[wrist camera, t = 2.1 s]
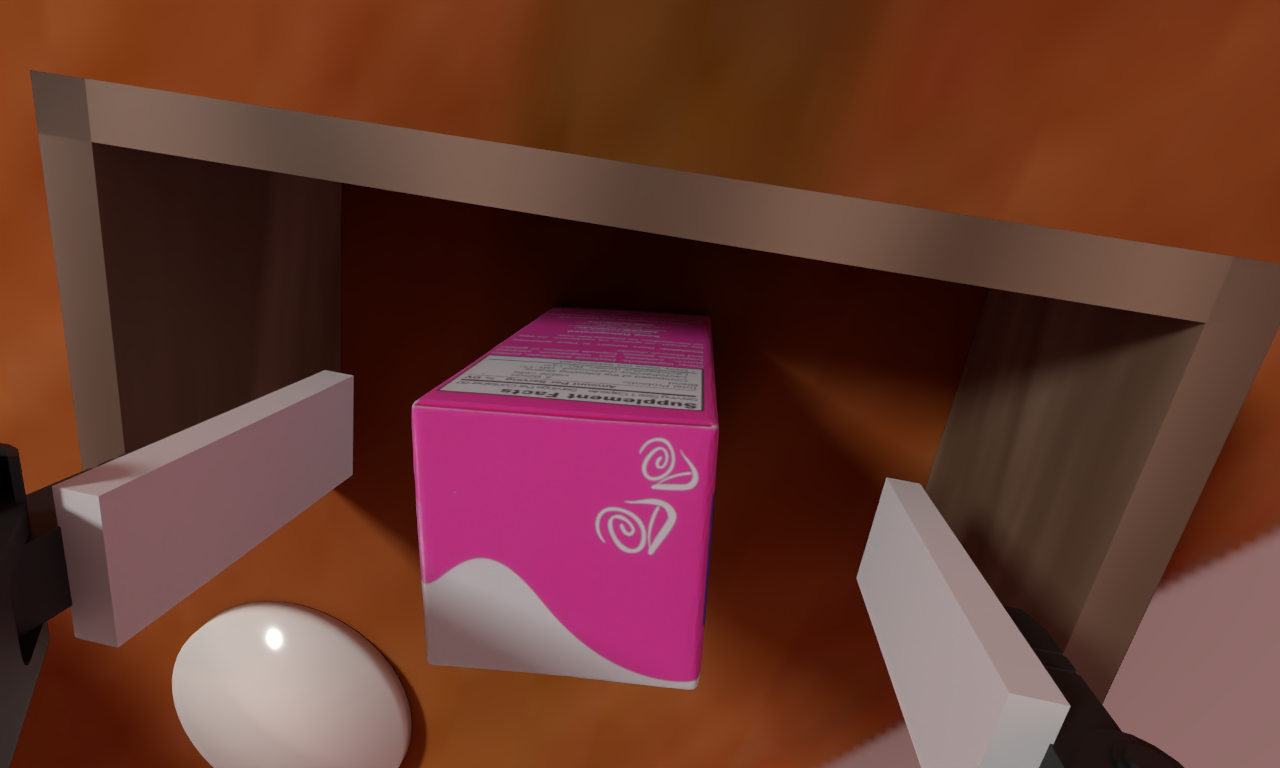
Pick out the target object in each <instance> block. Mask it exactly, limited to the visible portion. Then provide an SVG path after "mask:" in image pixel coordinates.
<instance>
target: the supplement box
mask: <svg viewBox="0 0 1280 768" xmlns="http://www.w3.org/2000/svg"><path fill="white" fill-rule="evenodd" d="M718 438H719V423H718V413H717V400H716V387H715V371H714V356H713V343H712V331H711V318H710V316H709V315H703V314H687V313H672V312H657V311H642V310H627V309H611V308H594V307H575V306H554V307H553V308H551V309H550V310H548V311H547V312H545V313H544V314H543V315H541V316H540V317H539V318H537V319H536V320H534V321H533V322H531V323H530V324H528V325H527V326H525V327H524V328H522V329H521V330H519V331H518V332H517V333H515V334H514V335H512V336H510V337H509V338H508V339H506V340H505V341H503V342H502V343H500V344H499V345H497V346H496V347H494V348H493V349H492V350H490V351H489V352H487V353H486V354H485V355H483V356H482V357H480V358H479V359H477V360H476V361H475V362H473V363H472V364H470V365H469V366H467V367H466V368H464V369H463V370H461V371H460V372H458V373H457V374H455V375H454V376H452V377H451V378H449V379H448V380H446V381H445V382H443V383H441V384H440V385H438V386H437V387H435V388H434V389H432V390H431V391H430V392H428V393H427V394H425V395H424V396H422V397H421V398H419V399H418V400H416V401H415V402H414V404H413V405H412V440H413V461H414V475H415V488H416V512H417V526H418V539H419V551H420V567H421V579H422V593H423V605H424V616H425V633H426V645H427V662H428V663H430V664H433V665H443V666H454V667H469V668H481V669H492V670H506V671H518V672H529V673H541V674H551V675H560V676H571V677H579V678H588V679H597V680H606V681H614V682H622V683H632V684H641V685H650V686H658V687H668V688H677V689H686V690H689V689H695V688H696V687H697V685H698V682H699V677H700V669H701V660H702V649H703V637H704V625H705V613H706V600H707V588H708V577H709V564H710V550H711V535H712V521H713V507H714V493H715V479H716V465H717V452H718Z"/></svg>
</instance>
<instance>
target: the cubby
mask: <svg viewBox="0 0 1280 768" xmlns="http://www.w3.org/2000/svg"><path fill="white" fill-rule="evenodd" d="M30 74H31V82H32V89H33V97H34V104H35V112H36V120H37V127H38V135H39V143H40V150H41V158H42V165H43V173H44V181H45V188H46V196H47V203H48V211H49V219H50V226H51V234H52V242H53V249H54V257H55V264H56V272H57V280H58V287H59V295H60V303H61V310H62V318H63V325H64V333H65V341H66V348H67V356H68V363H69V371H70V379H71V386H72V394H73V402H74V409H75V417H76V424H77V432H78V440H79V447H80V455H81V463H82V470H83V471H85V470H87V469H89V468H96V466H97V465H99V464H101V463H103V462H106V461H108V460H111V459H117V458H118V456H120V455H122V454H125V453H127V452H129V451H132V450H134V449H137V448H139V447H141V446H144V445H148V444H152V443H155V442H157V441H159V440H162V439H164V438H166V437H169V436H171V435H173V434H176V433H178V432H180V431H183V430H185V429H188V428H190V427H192V426H195V425H197V424H199V423H202V422H204V421H206V420H209V419H211V418H213V417H216V416H218V415H220V414H223V413H225V412H227V411H230V410H232V409H235V408H237V407H239V406H242V405H244V404H246V403H249V402H251V401H253V400H256V399H258V398H260V397H263V396H265V395H267V394H270V393H272V392H275V391H277V390H279V389H282V388H284V387H286V386H289V385H291V384H293V383H296V382H298V381H300V380H303V379H305V378H307V377H310V376H312V375H314V374H317V373H319V372H322V371H324V370H327V371H333V372H338V373H341V243H342V183H347V184H353V185H360V186H366V187H372V188H378V189H384V190H390V191H397V192H403V193H409V194H415V195H421V196H427V197H433V198H440V199H446V200H452V201H458V202H464V203H470V204H477V205H483V206H489V207H495V208H501V209H507V210H513V211H520V212H526V213H532V214H538V215H544V216H550V217H557V218H563V219H569V220H575V221H581V222H587V223H593V224H600V225H606V226H612V227H618V228H624V229H630V230H637V231H643V232H649V233H655V234H661V235H667V236H673V237H680V238H686V239H692V240H698V241H704V242H710V243H717V244H723V245H729V246H735V247H741V248H747V249H753V250H760V251H766V252H772V253H778V254H784V255H790V256H797V257H803V258H809V259H815V260H821V261H827V262H833V263H840V264H846V265H852V266H858V267H864V268H870V269H877V270H883V271H889V272H895V273H901V274H907V275H913V276H920V277H926V278H932V279H938V280H944V281H950V282H956V283H963V284H969V285H975V286H981V287H987V288H989V291H988V294H987V297H986V300H985V303H984V307H983V310H982V313H981V316H980V319H979V322H978V325H977V329H976V332H975V335H974V338H973V341H972V344H971V347H970V350H969V354H968V357H967V360H966V363H965V366H964V369H963V372H962V375H961V379H960V382H959V385H958V388H957V391H956V394H955V397H954V400H953V404H952V407H951V410H950V413H949V416H948V419H947V422H946V426H945V429H944V432H943V435H942V438H941V441H940V444H939V447H938V451H937V454H936V457H935V460H934V463H933V466H932V469H931V472H930V476H929V479H928V482H927V485H926V488H925V492H926V493H927V495H928V496H929V498H930V499H931V501H932V502H933V504H934V505H935V507H936V508H937V510H938V511H939V512H940V514H941V515H942V517H943V518H944V520H945V521H946V523H947V524H948V526H949V527H950V529H951V530H952V532H953V533H954V535H955V536H956V538H957V539H958V541H959V542H960V543H961V545H962V546H963V548H964V549H965V551H966V552H967V554H968V555H969V557H970V558H971V560H972V561H973V563H974V564H975V566H976V567H977V569H978V570H979V572H980V573H981V575H982V576H983V577H984V579H985V580H986V582H987V583H988V585H989V586H990V588H991V589H992V591H993V592H994V594H995V595H996V597H997V598H998V600H999V601H1000V603H1001V604H1002V605H1003V606H1008V607H1013V608H1018V609H1022V610H1023V611H1024V612H1025V613H1027V614H1028V615H1029V616H1030V617H1031V618H1033V619H1034V620H1035V621H1036V622H1037V623H1039V624H1040V625H1041V626H1042V627H1043V628H1045V629H1046V630H1047V631H1048V633H1049V634H1050V635H1051V637H1052V638H1053V639H1054V641H1055V642H1056V643H1057V645H1058V646H1059V647H1060V649H1061V650H1062V651H1063V656H1066V657H1067V658H1068V659H1069V661H1070V662H1071V664H1072V665H1073V666H1074V668H1075V669H1076V670H1077V671H1076V674H1077V675H1080V676H1081V677H1082V678H1083V680H1084V681H1085V682H1086V684H1087V685H1088V686H1089V688H1090V689H1091V691H1092V692H1093V693H1094V695H1095V696H1096V697H1097V699H1098V700H1099V701H1100V703H1101V704H1103V701H1104V699H1105V697H1106V695H1107V693H1108V691H1109V689H1110V686H1111V684H1112V682H1113V680H1114V678H1115V676H1116V674H1117V671H1118V669H1119V667H1120V665H1121V663H1122V661H1123V659H1124V656H1125V655H1126V652H1127V650H1128V648H1129V646H1130V644H1131V642H1132V640H1133V638H1134V635H1135V633H1136V631H1137V629H1138V626H1139V624H1140V623H1141V620H1142V618H1143V616H1144V614H1145V612H1146V610H1147V608H1148V605H1149V603H1150V601H1151V599H1152V597H1153V595H1154V593H1155V591H1156V588H1157V586H1158V584H1159V582H1160V580H1161V578H1162V576H1163V573H1164V571H1165V569H1166V567H1167V565H1168V563H1169V561H1170V559H1171V556H1172V554H1173V552H1174V550H1175V548H1176V546H1177V544H1178V541H1179V539H1180V537H1181V535H1182V533H1183V531H1184V529H1185V527H1186V524H1187V522H1188V520H1189V518H1190V516H1191V514H1192V512H1193V509H1194V507H1195V505H1196V503H1197V501H1198V499H1199V497H1200V495H1201V492H1202V490H1203V488H1204V486H1205V484H1206V482H1207V480H1208V477H1209V475H1210V473H1211V471H1212V469H1213V467H1214V465H1215V463H1216V460H1217V458H1218V456H1219V454H1220V452H1221V450H1222V448H1223V445H1224V443H1225V441H1226V439H1227V437H1228V435H1229V433H1230V430H1231V428H1232V426H1233V424H1234V422H1235V420H1236V418H1237V416H1238V413H1239V411H1240V409H1241V407H1242V405H1243V403H1244V401H1245V398H1246V396H1247V394H1248V392H1249V390H1250V388H1251V386H1252V384H1253V381H1254V379H1255V377H1256V375H1257V373H1258V371H1259V369H1260V366H1261V364H1262V362H1263V360H1264V358H1265V356H1266V354H1267V352H1268V349H1269V347H1270V345H1271V343H1272V341H1273V339H1274V337H1275V334H1276V332H1277V330H1278V328H1279V326H1280V264H1278V263H1271V262H1265V261H1259V260H1252V259H1246V258H1239V257H1233V256H1226V255H1220V254H1213V253H1207V252H1200V251H1194V250H1188V249H1181V248H1175V247H1168V246H1162V245H1155V244H1149V243H1142V242H1136V241H1129V240H1123V239H1117V238H1110V237H1104V236H1097V235H1091V234H1084V233H1078V232H1071V231H1065V230H1059V229H1052V228H1046V227H1039V226H1033V225H1026V224H1020V223H1013V222H1007V221H1000V220H994V219H988V218H981V217H975V216H968V215H962V214H955V213H949V212H942V211H936V210H930V209H923V208H917V207H910V206H904V205H897V204H891V203H884V202H878V201H871V200H865V199H859V198H852V197H846V196H839V195H833V194H826V193H820V192H813V191H807V190H800V189H794V188H788V187H781V186H775V185H768V184H762V183H755V182H749V181H742V180H736V179H730V178H723V177H717V176H710V175H704V174H697V173H691V172H684V171H678V170H671V169H665V168H659V167H652V166H646V165H639V164H633V163H626V162H620V161H613V160H607V159H601V158H594V157H588V156H581V155H575V154H568V153H562V152H555V151H549V150H542V149H536V148H530V147H523V146H517V145H510V144H504V143H497V142H491V141H484V140H478V139H471V138H465V137H459V136H452V135H446V134H439V133H433V132H426V131H420V130H413V129H407V128H401V127H394V126H388V125H381V124H375V123H368V122H362V121H355V120H349V119H342V118H336V117H330V116H323V115H317V114H310V113H304V112H297V111H291V110H284V109H278V108H272V107H265V106H259V105H252V104H246V103H239V102H233V101H226V100H220V99H213V98H207V97H201V96H194V95H188V94H181V93H175V92H168V91H162V90H155V89H149V88H143V87H136V86H130V85H123V84H117V83H110V82H104V81H97V80H91V79H84V78H78V77H72V76H65V75H59V74H52V73H46V72H39V71H33V70H30Z"/></svg>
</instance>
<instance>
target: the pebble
mask: <svg viewBox="0 0 1280 768" xmlns="http://www.w3.org/2000/svg"><path fill="white" fill-rule="evenodd" d="M172 693H173V699H174V705H175V708H176V711H177V714H178V717H179V720H180V722H181V724H182V726H183V728H184V730H185V732H186V734H187V735H188V737H189V739H190V740H191V742H192V743H193V745H194V746H195V747H196V749H197V750H198V751H199V753H200V754H201V755H202V756H203V757H204V758H205V759H206V760H207V762H208V763H209V764H210V765H211V766H212V767H214V768H399V766H400V764H401V763H402V761H403V759H404V757H405V755H406V753H407V750H408V747H409V744H410V739H411V732H412V718H411V712H410V706H409V702H408V699H407V696H406V693H405V690H404V688H403V686H402V684H401V682H400V680H399V678H398V676H397V675H396V673H395V672H394V670H393V668H392V667H391V665H390V664H389V663H388V662H387V660H386V659H385V658H384V657H383V655H382V654H381V653H380V652H379V651H378V650H377V649H376V648H375V647H374V646H373V645H372V644H371V643H370V642H369V641H368V640H367V639H365V638H364V637H363V636H362V635H360V634H359V633H358V632H357V631H355V630H354V629H352V628H351V627H349V626H348V625H346V624H344V623H343V622H341V621H339V620H337V619H335V618H333V617H331V616H330V615H328V614H325V613H323V612H320V611H317V610H315V609H312V608H309V607H305V606H302V605H298V604H293V603H287V602H280V601H259V602H250V603H245V604H241V605H237V606H234V607H232V608H229V609H227V610H225V611H223V612H221V613H219V614H218V615H216V616H214V617H213V618H212V619H211V620H210V621H208V622H207V623H206V624H205V625H204V626H202V627H201V628H200V629H199V630H198V631H196V632H195V633H194V634H193V635H192V636H191V637H190V638H189V639H188V640H187V642H186V643H185V644H184V645H183V647H182V649H181V651H180V652H179V654H178V656H177V659H176V662H175V665H174V669H173V676H172Z"/></svg>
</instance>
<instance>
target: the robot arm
mask: <svg viewBox="0 0 1280 768" xmlns="http://www.w3.org/2000/svg"><path fill="white" fill-rule="evenodd" d="M353 396H354V376H353V375H348V374H343V373H338V372H333V371H327V370H324V371H322V372H319V373H317V374H314V375H312V376H310V377H307V378H305V379H303V380H300V381H298V382H296V383H293V384H291V385H289V386H286V387H284V388H282V389H279V390H277V391H275V392H272V393H270V394H267V395H265V396H263V397H260V398H258V399H256V400H253V401H251V402H249V403H246V404H244V405H242V406H239V407H237V408H235V409H232V410H230V411H227V412H225V413H223V414H220V415H218V416H216V417H213V418H211V419H209V420H206V421H204V422H202V423H199V424H197V425H195V426H192V427H190V428H188V429H185V430H183V431H180V432H178V433H176V434H173V435H171V436H169V437H166V438H164V439H162V440H159V441H157V442H155V443H152V444H148V445H144V446H141V447H139V448H137V449H134V450H132V451H129V452H127V453H125V454H122V455H120V456H118V458H117V459H111V460H108V461H106V462H103V463H101V464H99V465H97V466H96V468H89V469H87V470H85V471H82V472H80V473H77V474H75V475H73V476H70V477H68V478H66V479H63V480H61V481H58V482H56V483H54V484H51V485H49V486H47V487H44V488H42V489H40V490H37V491H35V492H32V493H30V494H28V495H26V494H25V488H24V482H23V476H22V470H21V464H20V458H19V452H18V449H17V448H15V447H13V446H11V445H9V444H2V443H0V768H9V767H10V764H11V761H12V758H13V755H14V752H15V748H16V745H17V742H18V739H19V736H20V733H21V729H22V726H23V723H24V720H25V717H26V714H27V710H28V707H29V704H30V701H31V698H32V695H33V692H34V688H35V685H36V682H37V679H38V676H39V673H40V669H41V666H42V663H43V660H44V657H45V654H46V651H47V647H48V644H49V641H50V640H49V631H48V625H47V621H48V620H49V619H51V618H52V617H54V616H56V615H57V614H59V613H60V612H62V611H64V610H65V609H67V608H68V607H70V608H71V614H72V621H73V628H74V634H75V638H79V639H83V640H88V641H92V642H96V643H100V644H105V645H109V646H113V647H117V648H118V647H119V646H121V645H122V644H124V643H125V642H126V641H128V640H129V639H130V638H132V637H133V636H134V635H136V634H137V633H138V632H140V631H141V630H143V629H144V628H145V627H147V626H148V625H149V624H151V623H152V622H153V621H155V620H156V619H157V618H159V617H160V616H162V615H163V614H164V613H166V612H167V611H168V610H170V609H171V608H172V607H174V606H175V605H176V604H178V603H179V602H181V601H182V600H183V599H185V598H186V597H187V596H189V595H190V594H191V593H193V592H194V591H196V590H197V589H198V588H200V587H201V586H202V585H204V584H205V583H206V582H208V581H209V580H210V579H212V578H213V577H215V576H216V575H217V574H219V573H220V572H221V571H223V570H224V569H225V568H227V567H228V566H229V565H231V564H232V563H234V562H235V561H236V560H238V559H239V558H240V557H242V556H243V555H244V554H246V553H247V552H248V551H250V550H251V549H253V548H254V547H255V546H257V545H258V544H259V543H261V542H262V541H263V540H265V539H266V538H267V537H269V536H270V535H272V534H273V533H274V532H276V531H277V530H278V529H280V528H281V527H282V526H284V525H285V524H286V523H288V522H289V521H291V520H292V519H293V518H295V517H296V516H297V515H299V514H300V513H301V512H303V511H304V510H305V509H307V508H308V507H310V506H311V505H312V504H314V503H315V502H316V501H318V500H319V499H320V498H322V497H323V496H325V495H326V494H327V493H329V492H330V491H331V490H333V489H334V488H335V487H337V486H338V485H339V484H341V483H342V482H344V481H345V480H346V479H348V478H349V477H350V476H352V475H353ZM856 579H857V581H858V584H859V587H860V590H861V593H862V596H863V599H864V602H865V605H866V608H867V611H868V614H869V617H870V620H871V623H872V626H873V628H874V631H875V634H876V637H877V640H878V643H879V646H880V649H881V652H882V655H883V658H884V661H885V664H886V667H887V670H888V672H889V675H890V678H891V681H892V684H893V687H894V690H895V693H896V696H897V699H898V702H899V705H900V708H901V711H902V714H903V717H904V719H905V722H906V725H907V728H908V731H909V734H910V737H911V740H912V743H913V746H914V749H915V752H916V755H917V758H918V761H919V764H920V766H921V768H1184V767H1183V766H1182V765H1181V764H1180V763H1179V762H1178V761H1176V760H1175V759H1173V758H1172V757H1170V756H1168V755H1167V754H1166V753H1164V752H1163V751H1161V750H1160V749H1159V748H1157V747H1155V746H1154V745H1152V744H1150V743H1148V742H1146V741H1143V740H1142V739H1139V738H1137V737H1135V736H1133V735H1131V734H1127V733H1124V732H1122V731H1121V730H1120V728H1119V727H1118V726H1117V724H1116V723H1115V722H1114V720H1113V719H1112V718H1111V716H1110V715H1109V713H1108V712H1107V711H1106V709H1105V708H1104V707H1103V705H1102V704H1101V703H1100V701H1099V700H1098V699H1097V697H1096V696H1095V695H1094V693H1093V692H1092V691H1091V689H1090V688H1089V686H1088V685H1087V684H1086V682H1085V681H1084V680H1083V678H1082V677H1081V676H1080V675H1077V674H1076V671H1077V670H1076V669H1075V668H1074V666H1073V665H1072V664H1071V662H1070V661H1069V659H1068V658H1067V657H1066V656H1063V651H1062V650H1061V649H1060V647H1059V646H1058V645H1057V643H1056V642H1055V641H1054V639H1053V638H1052V637H1051V635H1050V634H1049V633H1048V631H1047V630H1046V629H1045V628H1043V627H1042V626H1041V625H1040V624H1039V623H1037V622H1036V621H1035V620H1034V619H1033V618H1031V617H1030V616H1029V615H1028V614H1027V613H1025V612H1024V611H1023V610H1022V609H1018V608H1013V607H1008V606H1003V605H1002V604H1001V603H1000V601H999V600H998V598H997V597H996V595H995V594H994V592H993V591H992V589H991V588H990V586H989V585H988V583H987V582H986V580H985V579H984V577H983V576H982V575H981V573H980V572H979V570H978V569H977V567H976V566H975V564H974V563H973V561H972V560H971V558H970V557H969V555H968V554H967V552H966V551H965V549H964V548H963V546H962V545H961V543H960V542H959V541H958V539H957V538H956V536H955V535H954V533H953V532H952V530H951V529H950V527H949V526H948V524H947V523H946V521H945V520H944V518H943V517H942V515H941V514H940V512H939V511H938V510H937V508H936V507H935V505H934V504H933V502H932V501H931V499H930V498H929V496H928V495H927V493H926V492H925V490H924V489H923V487H922V486H921V484H919V483H914V482H909V481H904V480H898V479H893V478H888V477H886V480H885V484H884V487H883V490H882V494H881V497H880V500H879V504H878V507H877V510H876V514H875V517H874V520H873V524H872V527H871V530H870V534H869V537H868V541H867V544H866V547H865V551H864V554H863V557H862V561H861V564H860V567H859V571H858V574H857V577H856Z"/></svg>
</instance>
